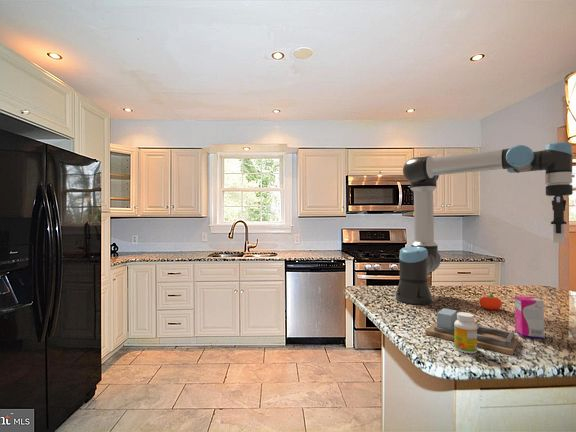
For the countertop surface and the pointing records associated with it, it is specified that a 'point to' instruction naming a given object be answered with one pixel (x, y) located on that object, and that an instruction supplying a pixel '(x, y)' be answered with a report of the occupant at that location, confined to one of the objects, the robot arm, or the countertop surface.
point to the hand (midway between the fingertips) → (559, 242)
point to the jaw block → (446, 319)
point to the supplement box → (529, 317)
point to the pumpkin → (490, 302)
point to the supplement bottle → (465, 333)
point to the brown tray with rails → (482, 338)
